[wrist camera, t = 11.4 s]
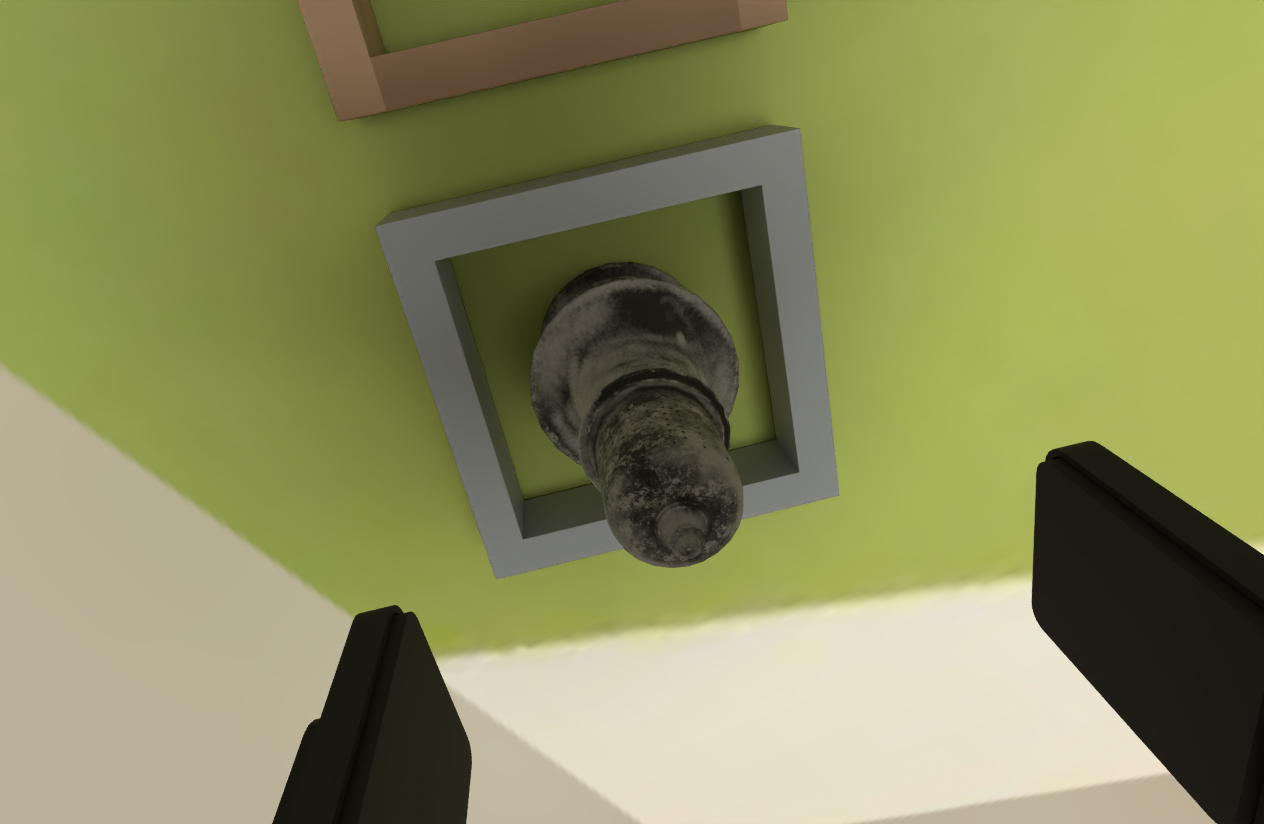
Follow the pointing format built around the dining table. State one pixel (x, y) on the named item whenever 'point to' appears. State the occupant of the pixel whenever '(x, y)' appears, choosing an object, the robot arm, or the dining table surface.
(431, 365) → the grey holder
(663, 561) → the dark grey turned piece
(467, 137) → the dining table surface
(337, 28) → the walnut holder
